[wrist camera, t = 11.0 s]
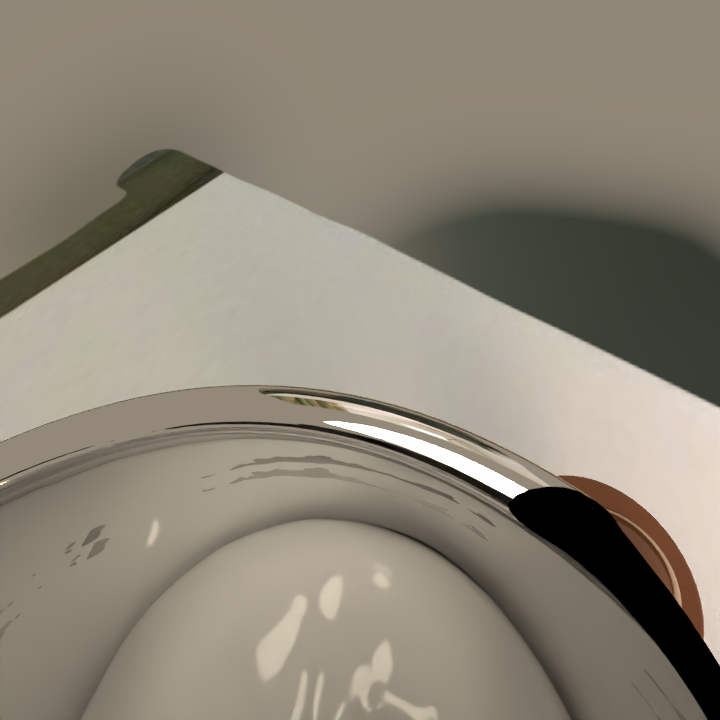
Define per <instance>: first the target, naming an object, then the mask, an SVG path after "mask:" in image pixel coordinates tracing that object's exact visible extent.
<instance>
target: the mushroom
mask: <svg viewBox="0 0 720 720" xmlns="http://www.w3.org/2000/svg"><path fill="white" fill-rule="evenodd" d="M557 477H559V478H561V479H562V480H564V481H566V482H567V483H569V484H570V485H572V486H574V487H575V488H577V489H579V490H580V491H582V492H583V493H585V494H586V495H588V496H589V497H591V498H592V499H594V500H595V501H596V502H598V503H599V504H600V505H601V506H603V507H604V508H605V509H606V510H607V511H608V512H609V513H610V514H611V515H612V517H613V518H614V519H615V520H616V522H617V523H618V525H619V526H620V528H621V530H622V531H623V532H624V533H625V535H626V536H627V537H628V538H629V540H630V541H631V542H632V543H633V545H634V546H635V547H636V548H637V550H638V551H639V552H640V554H641V555H642V556H643V557H644V559H645V560H646V561H647V563H648V564H649V565H650V566H651V568H652V569H653V570H654V572H655V573H656V574H657V575H658V577H659V578H660V579H661V580H662V582H663V583H664V584H665V586H666V587H667V588H668V589H669V591H670V592H671V594H672V595H673V596H674V598H675V599H676V601H677V602H678V603H679V605H680V606H681V608H682V609H683V610H684V612H685V613H686V615H687V616H688V617H689V619H690V620H691V622H692V623H693V625H694V627H695V628H696V630H697V631H698V633H699V634H700V636H701V637H702V639H703V640H704V618H703V612H702V605H701V600H700V597H699V593H698V589H697V586H696V583H695V581H694V578H693V576H692V573H691V571H690V569H689V567H688V565H687V563H686V561H685V559H684V557H683V555H682V553H681V552H680V550H679V549H678V547H677V545H676V544H675V542H674V541H673V540H672V538H671V537H670V536H669V534H668V533H667V532H666V530H665V529H664V528H663V527H662V526H661V525H660V524H659V522H658V521H657V520H656V519H655V518H654V517H653V516H652V515H651V514H650V513H649V512H647V511H646V510H645V509H644V508H643V507H642V506H640V505H639V504H638V503H637V502H635V501H634V500H633V499H631V498H630V497H628V496H627V495H625V494H623V493H622V492H620V491H618V490H616V489H614V488H612V487H611V486H608V485H606V484H603V483H601V482H598V481H595V480H592V479H588V478H584V477H578V476H567V475H559V476H557Z"/></svg>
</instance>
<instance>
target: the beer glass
mask: <svg viewBox="0 0 720 720" xmlns="http://www.w3.org/2000/svg"><path fill="white" fill-rule="evenodd" d="M0 720H720V666H719V664H718V662H717V661H716V659H715V658H714V656H713V654H712V653H711V651H710V650H709V648H708V647H707V645H706V644H705V642H704V640H703V639H702V637H701V636H700V634H699V633H698V631H697V630H696V628H695V627H694V625H693V623H692V622H691V620H690V619H689V617H688V616H687V615H686V613H685V612H684V610H683V609H682V608H681V606H680V605H679V603H678V602H677V601H676V599H675V598H674V596H673V595H672V594H671V592H670V591H669V589H668V588H667V587H666V586H665V584H664V583H663V582H662V580H661V579H660V578H659V577H658V575H657V574H656V573H655V572H654V570H653V569H652V568H651V566H650V565H649V564H648V563H647V561H646V560H645V559H644V557H643V556H642V555H641V554H640V552H639V551H638V550H637V548H636V547H635V546H634V545H633V543H632V542H631V541H630V540H629V538H628V537H627V536H626V535H625V533H624V532H623V531H622V530H621V528H620V526H619V525H618V523H617V522H616V520H615V519H614V518H613V517H612V515H611V514H610V513H609V512H608V511H607V510H606V509H605V508H604V507H603V506H601V505H600V504H599V503H598V502H596V501H595V500H594V499H592V498H591V497H589V496H588V495H586V494H585V493H583V492H582V491H580V490H579V489H577V488H575V487H574V486H572V485H570V484H569V483H567V482H566V481H564V480H562V479H561V478H559V477H557V476H556V475H554V474H553V473H551V472H549V471H547V470H546V469H544V468H542V467H540V466H538V465H537V464H535V463H533V462H531V461H529V460H528V459H526V458H524V457H522V456H520V455H518V454H516V453H514V452H512V451H510V450H508V449H507V448H505V447H503V446H501V445H499V444H497V443H495V442H492V441H490V440H488V439H486V438H483V437H481V436H479V435H477V434H475V433H472V432H470V431H468V430H465V429H463V428H460V427H458V426H456V425H453V424H451V423H448V422H446V421H443V420H440V419H438V418H435V417H432V416H429V415H426V414H424V413H421V412H418V411H414V410H411V409H408V408H405V407H401V406H398V405H395V404H391V403H387V402H383V401H379V400H375V399H371V398H366V397H362V396H357V395H352V394H347V393H342V392H336V391H330V390H323V389H314V388H306V387H294V386H281V385H229V386H213V387H203V388H193V389H185V390H178V391H171V392H164V393H159V394H153V395H148V396H142V397H138V398H133V399H129V400H125V401H120V402H116V403H113V404H109V405H105V406H102V407H98V408H94V409H91V410H88V411H84V412H81V413H78V414H74V415H71V416H68V417H65V418H62V419H59V420H56V421H53V422H50V423H47V424H45V425H42V426H39V427H37V428H34V429H32V430H29V431H26V432H24V433H21V434H19V435H16V436H14V437H12V438H9V439H7V440H4V441H2V442H0Z"/></svg>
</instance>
